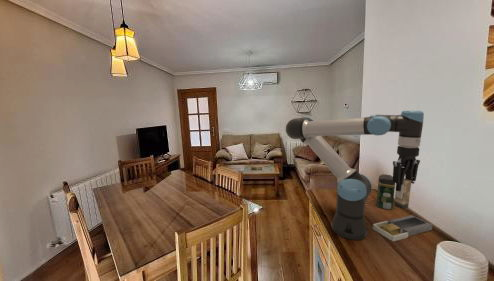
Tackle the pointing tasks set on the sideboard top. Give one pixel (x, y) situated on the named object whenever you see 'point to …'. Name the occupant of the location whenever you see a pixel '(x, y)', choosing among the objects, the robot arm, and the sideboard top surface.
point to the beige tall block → (404, 195)
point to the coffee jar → (385, 192)
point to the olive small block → (395, 228)
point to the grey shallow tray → (411, 225)
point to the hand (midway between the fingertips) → (402, 196)
